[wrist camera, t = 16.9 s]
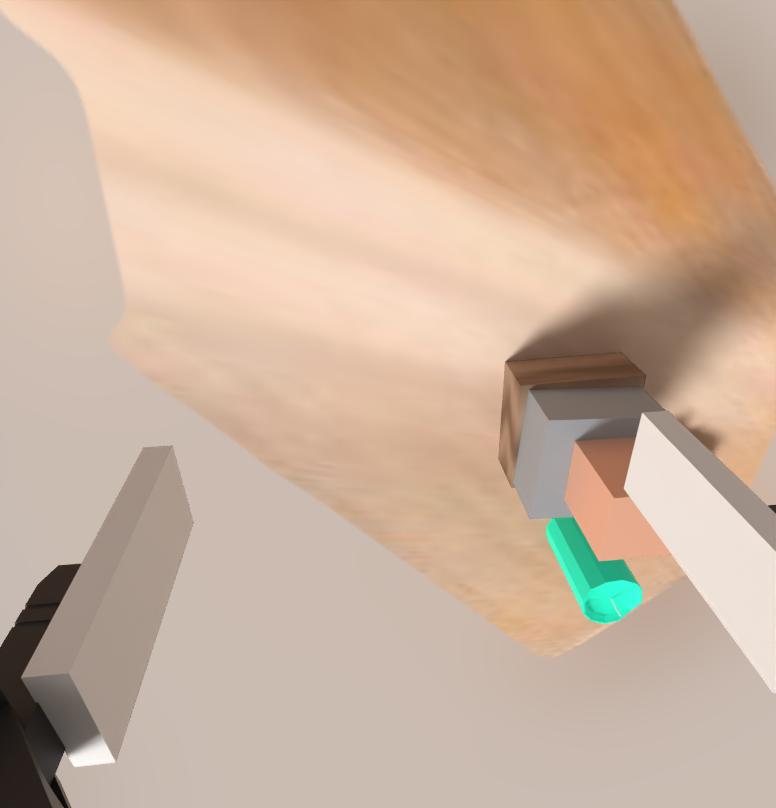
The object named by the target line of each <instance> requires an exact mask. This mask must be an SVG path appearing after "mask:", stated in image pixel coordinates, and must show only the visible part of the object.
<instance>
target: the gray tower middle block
mask: <svg viewBox="0 0 776 808" xmlns="http://www.w3.org/2000/svg"><path fill="white" fill-rule="evenodd" d="M657 411H666V410H665V409H663V408H662V407H661V406H660V405H659V404H658V403H657V402H656V401H655V400H654V399H653V398H652V397H651V396H650V395H649V394H648V393H647V392H646V391H645V390H644V389H643V388H642V387H624V388H582V389H541V390H529V393H528V398H527V404H526V410H525V416H524V422H523V428H522V434H521V440H520V446H519V451H518V457H517V463H516V469H515V475H514V481H513V484H514V486H515V488H516V490H517V492H518V495H519V497H520V499H521V501H522V503H523V506H524V508H525V510H526V512H527V514H528V517H529V519H540V518H563V517H574V516H573V514H572V513H571V511H570V509H569V507H568V506H567V504H566V502H565V500H564V498H565V492H566V487H567V481H568V476H569V470H570V465H571V459H572V454H573V448H574V443H575V441H583V440H597V439H612V438H627V437H636V436H637V432H638V428H639V423H640V419H641V415H642V413H643V412H657Z"/></svg>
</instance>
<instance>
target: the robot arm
mask: <svg viewBox="0 0 776 808" xmlns="http://www.w3.org/2000/svg"><path fill="white" fill-rule="evenodd" d="M624 490H625V491H626V492H627V494H628V495H629V497H630V498H631V499H632V501H633V502H634V503H635V505H636V506H637V508H638V509H639V510H640V512H641V513H642V514H643V516H644V517H645V518H646V520H647V521H648V523H649V524H650V525H651V527H652V528H653V529H654V531H655V532H656V534H657V535H658V536H659V538H660V539H661V540H662V542H663V543H664V544H665V546H666V547H667V549H668V550H669V551H670V553H671V554H672V555H673V557H674V558H675V560H676V561H677V562H678V564H679V565H680V566H681V568H682V569H683V570H684V572H685V573H686V575H687V576H688V577H689V579H690V580H691V581H692V583H693V584H694V586H695V587H696V588H697V590H698V591H699V592H700V594H701V595H702V596H703V598H704V599H705V601H706V602H707V603H708V605H709V606H710V607H711V609H712V610H713V611H714V613H715V614H716V616H717V617H718V618H719V620H720V621H721V622H722V624H723V625H724V627H725V628H726V629H727V631H728V632H729V633H730V635H731V636H732V638H733V639H734V640H735V642H736V643H737V644H738V646H739V647H740V648H741V650H742V651H743V652H744V654H745V655H746V657H747V658H748V659H749V661H750V662H751V663H752V665H753V666H754V667H755V669H756V670H757V672H758V673H759V674H760V676H761V677H762V679H763V680H764V681H765V683H766V684H767V685H768V687H769V688H770V689H771V691H772V692H773V693H776V505H769V506H767V505H766V504H765V503H764V502H763V501H762V500H761V499H760V498H759V497H758V496H757V495H756V494H755V493H754V492H753V491H752V490H751V489H749V488H748V487H747V486H746V485H745V484H744V483H743V482H742V481H741V480H740V479H739V478H738V477H737V476H736V475H735V474H734V473H733V472H732V471H731V470H730V469H729V468H727V467H726V466H725V465H724V464H723V463H722V462H721V461H720V460H719V459H718V458H717V457H716V456H715V455H714V454H713V453H712V452H711V451H710V450H709V449H708V448H707V447H705V446H704V445H703V444H702V443H701V442H700V441H699V440H698V439H697V438H696V437H695V436H694V435H693V434H692V433H691V432H690V431H689V430H688V429H687V428H686V427H685V426H683V425H682V424H681V423H680V422H679V421H678V420H677V419H676V418H675V417H674V416H673V415H672V414H671V413H670V412H669V411H657V412H643V413H642V415H641V419H640V423H639V428H638V432H637V436H636V440H635V444H634V448H633V452H632V456H631V460H630V465H629V469H628V473H627V477H626V481H625V485H624ZM193 523H194V522H193V519H192V515H191V512H190V508H189V504H188V501H187V497H186V493H185V489H184V486H183V482H182V478H181V476H180V471H179V467H178V464H177V460H176V457H175V453H174V449H173V446H159V447H145V448H143V450H142V452H141V453H140V455H139V457H138V459H137V461H136V463H135V464H134V467H133V468H132V470H131V472H130V474H129V476H128V478H127V479H126V481H125V483H124V485H123V487H122V489H121V491H120V493H119V495H118V496H117V498H116V500H115V502H114V504H113V506H112V508H111V509H110V511H109V513H108V515H107V517H106V519H105V521H104V523H103V525H102V526H101V529H100V530H99V532H98V534H97V536H96V538H95V540H94V541H93V543H92V545H91V547H90V549H89V551H88V553H87V555H86V556H85V558H84V560H83V562H82V564H71V565H59V566H57V567H56V568H55V569H54V570H53V571H52V572H51V573H50V574H49V575H48V576H47V577H45V578H44V579H43V580H42V581H41V582H40V583H39V584H38V585H37V587H36V588H35V590H34V592H33V593H32V595H31V597H30V598H29V600H28V602H27V603H26V605H25V606H26V607H25V610H22V612H21V613H20V615H19V617H18V619H17V620H16V622H15V627H12V629H11V630H10V632H9V634H8V635H7V637H6V639H5V640H4V642H3V644H2V646H1V647H0V808H71V806H70V804H69V802H68V799H67V797H66V794H65V792H64V790H63V787H62V785H61V783H60V781H59V779H58V778H57V776H56V774H55V773H56V770H57V768H58V765H59V763H60V761H61V758H62V756H63V753H64V751H65V752H66V754H67V756H68V757H69V759H70V761H71V762H72V764H73V766H74V767H78V766H87V765H97V764H107V763H116V761H117V758H118V754H119V751H120V748H121V745H122V742H123V739H124V736H125V732H126V730H127V726H128V723H129V720H130V717H131V714H132V711H133V708H134V705H135V702H136V699H137V696H138V693H139V690H140V687H141V683H142V680H143V677H144V674H145V671H146V668H147V665H148V662H149V659H150V655H151V653H152V649H153V646H154V643H155V640H156V637H157V634H158V631H159V628H160V625H161V622H162V618H163V615H164V612H165V609H166V606H167V603H168V600H169V597H170V594H171V590H172V588H173V584H174V582H175V579H176V575H177V572H178V569H179V566H180V563H181V560H182V557H183V554H184V550H185V548H186V544H187V541H188V538H189V535H190V532H191V529H192V526H193Z"/></svg>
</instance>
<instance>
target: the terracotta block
mask: <svg viewBox="0 0 776 808" xmlns="http://www.w3.org/2000/svg"><path fill="white" fill-rule="evenodd" d="M635 440H636V437H627V438H612V439H597V440H583V441H575V443H574V448H573V454H572V459H571V465H570V470H569V476H568V481H567V487H566V492H565V498H564V500H565V502H566V504H567V506H568V507H569V509H570V511H571V513H572V514H573V516H574V518H575V520H576V521H577V523H578V525H579V527H580V529H581V530H582V532H583V534H584V536H585V537H586V539H587V541H588V543H589V545H590V546H591V548H592V550H593V552H594V553H595V555H596V557H597V559H598V561H608V560H620V559H632V558H644V557H656V556H668V555H672V554H671V553H670V551H669V550H668V549H667V547H666V546H665V544H664V543H663V542H662V540H661V539H660V538H659V536H658V535H657V534H656V532H655V531H654V529H653V528H652V527H651V525H650V524H649V523H648V521H647V520H646V518H645V517H644V516H643V514H642V513H641V512H640V510H639V509H638V508H637V506H636V505H635V503H634V502H633V501H632V499H631V498H630V497H629V495H628V494H627V492H626V491H625V490H624V485H625V481H626V477H627V473H628V469H629V465H630V460H631V456H632V452H633V448H634V444H635Z"/></svg>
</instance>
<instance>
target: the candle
mask: <svg viewBox="0 0 776 808" xmlns="http://www.w3.org/2000/svg"><path fill="white" fill-rule="evenodd" d="M547 538H548V541H549V543H550V545H551V547H552V549H553V551H554V553H555V555H556V557H557V559H558V561H559V563H560V566H561V568H562V570H563V572H564V574H565V576H566V578H567V580H568V582H569V584H570V586H571V589H572V591H573V593H574V595H575V597H576V599H577V601H578V603H579V605H580V607H581V609H582V611H583V614H584V615H585V616H586V617H587V618H588V619H589V620H591V621H594V622H598V623H603V624H606V623H610V622H614V621H619V620H620V619H622V618H623V617H624V616H625V615H626V614H627V613H629V612H630V611H631V610H632V609H634V608H635V607H636V606H638V605H639V604H640V603H642V589H641V587H640V585H639V584H638V582H637V581H636V579H635V577H634V576H633V574H632V572H631V571H630V569H629V568H628V566H627V564H626V563H625V561H624V560H623V559H620V560H608V561H598V559H597V557H596V555H595V553H594V552H593V550H592V548H591V546H590V545H589V543H588V541H587V539H586V537H585V536H584V534H583V532H582V530H581V529H580V527H579V525H578V523H577V521H576V520H575V518H574V517H563V518H552V519H551V521H550V522H549V524H548V525H547Z"/></svg>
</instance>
